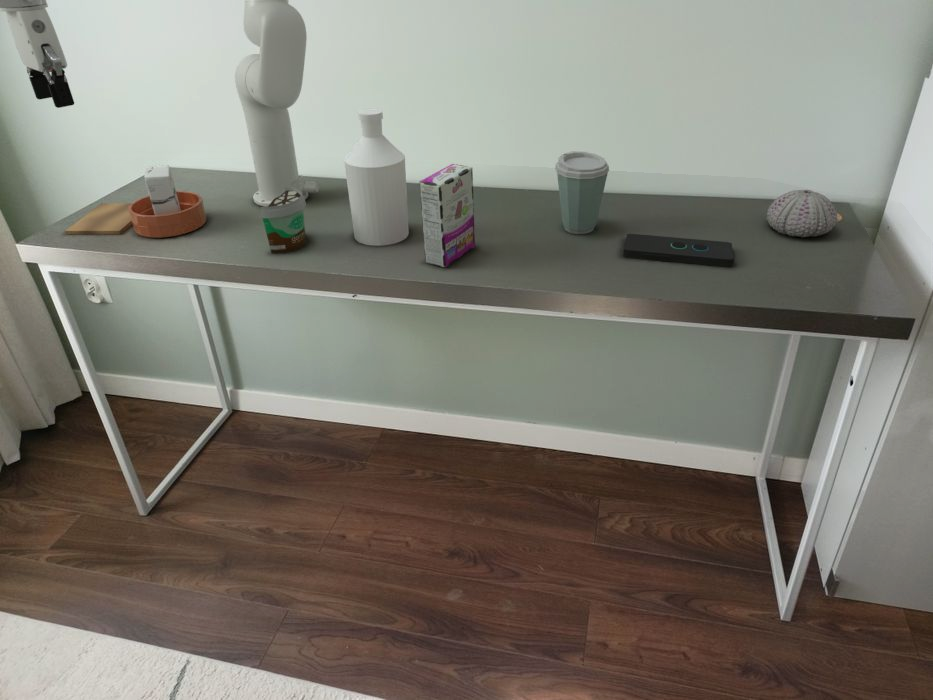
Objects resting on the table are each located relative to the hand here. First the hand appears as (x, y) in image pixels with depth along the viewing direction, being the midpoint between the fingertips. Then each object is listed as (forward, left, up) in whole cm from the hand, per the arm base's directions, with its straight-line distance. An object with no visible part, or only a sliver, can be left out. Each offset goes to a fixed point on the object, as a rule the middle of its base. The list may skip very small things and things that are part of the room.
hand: (55, 101), depth 129 cm
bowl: (-11, -10, -28) cm, 32 cm away
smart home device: (-117, +4, -29) cm, 120 cm away
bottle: (-58, -5, -29) cm, 65 cm away
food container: (-41, 0, -29) cm, 50 cm away
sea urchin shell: (-144, -8, -29) cm, 147 cm away
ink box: (-11, -10, -28) cm, 32 cm away
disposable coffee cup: (-99, -8, -29) cm, 103 cm away
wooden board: (+4, -13, -28) cm, 31 cm away
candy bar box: (-73, +5, -29) cm, 78 cm away
